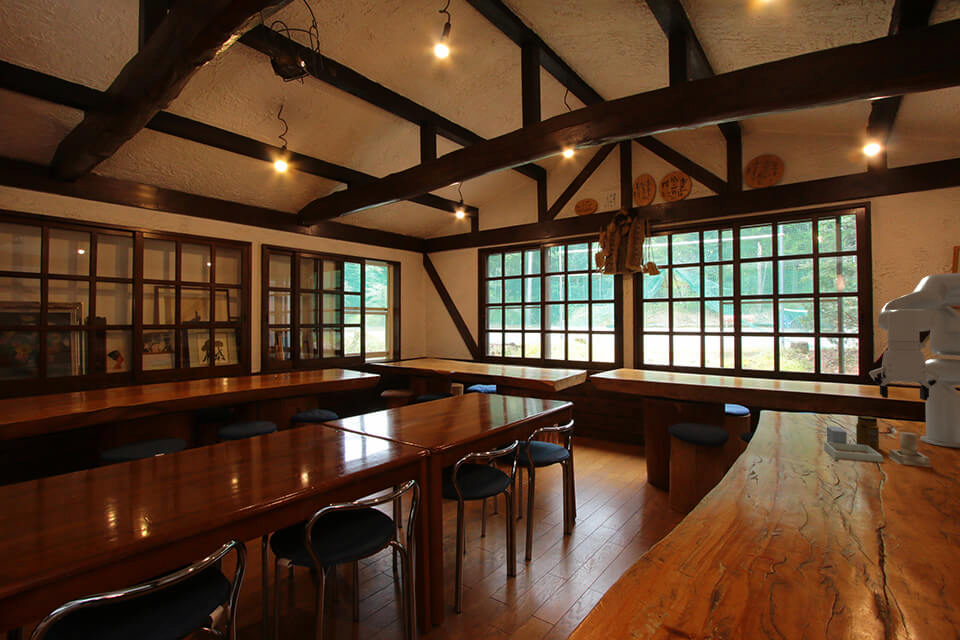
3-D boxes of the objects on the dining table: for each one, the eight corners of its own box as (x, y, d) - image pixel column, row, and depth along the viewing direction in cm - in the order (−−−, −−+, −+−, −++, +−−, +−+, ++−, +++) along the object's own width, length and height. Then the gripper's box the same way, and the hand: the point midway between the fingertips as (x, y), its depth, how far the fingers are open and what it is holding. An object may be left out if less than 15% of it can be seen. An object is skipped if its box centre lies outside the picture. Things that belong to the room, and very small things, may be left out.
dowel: (914, 460, 142) (913, 432, 142) (920, 464, 139) (919, 435, 139) (898, 458, 144) (897, 431, 144) (903, 462, 140) (903, 434, 140)
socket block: (919, 462, 143) (919, 451, 143) (931, 470, 136) (931, 458, 136) (887, 459, 147) (887, 448, 147) (898, 466, 139) (898, 455, 139)
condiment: (878, 449, 157) (878, 416, 157) (883, 455, 150) (882, 421, 150) (852, 446, 162) (851, 414, 162) (855, 452, 155) (855, 418, 154)
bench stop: (840, 445, 162) (840, 427, 162) (846, 451, 156) (846, 431, 156) (827, 444, 164) (826, 426, 164) (832, 450, 157) (832, 430, 157)
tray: (868, 453, 153) (867, 445, 153) (882, 465, 141) (882, 455, 141) (824, 449, 158) (824, 441, 158) (835, 460, 147) (834, 451, 147)
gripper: (933, 346, 143) (933, 398, 143) (865, 345, 150) (866, 395, 150) (945, 348, 136) (945, 402, 136) (873, 346, 144) (874, 398, 144)
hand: (903, 398), depth 143 cm, fingers open, 9 cm apart
